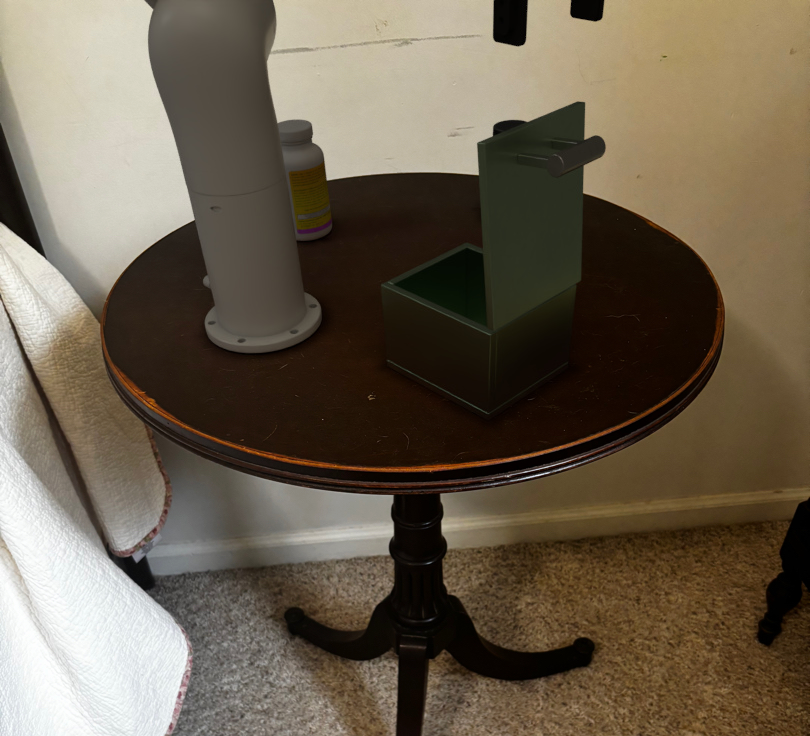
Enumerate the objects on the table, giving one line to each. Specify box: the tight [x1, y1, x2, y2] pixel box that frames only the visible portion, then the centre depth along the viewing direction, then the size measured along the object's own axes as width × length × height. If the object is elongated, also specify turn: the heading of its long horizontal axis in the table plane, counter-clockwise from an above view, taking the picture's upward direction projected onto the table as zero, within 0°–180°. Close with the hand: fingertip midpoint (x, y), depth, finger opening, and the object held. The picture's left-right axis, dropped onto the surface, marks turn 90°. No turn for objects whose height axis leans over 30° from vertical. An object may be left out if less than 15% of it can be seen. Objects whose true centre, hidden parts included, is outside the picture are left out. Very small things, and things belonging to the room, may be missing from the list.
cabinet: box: [380, 242, 578, 421], centre depth 76 cm, size 14×12×9 cm
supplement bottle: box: [277, 119, 333, 242], centre depth 99 cm, size 7×7×13 cm
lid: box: [476, 100, 607, 331], centre depth 63 cm, size 14×12×5 cm
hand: (548, 30), depth 68 cm, fingers open, 9 cm apart
